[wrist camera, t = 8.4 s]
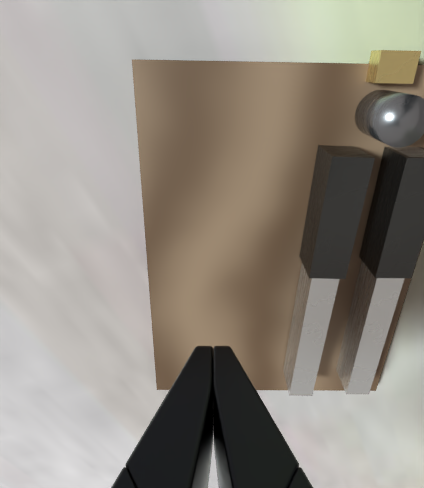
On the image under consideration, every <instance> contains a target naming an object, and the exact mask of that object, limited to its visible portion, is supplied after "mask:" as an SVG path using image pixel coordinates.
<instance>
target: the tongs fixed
mask: <svg viewBox="0 0 424 488" xmlns="http://www.w3.org/2000/svg"><path fill="white" fill-rule="evenodd" d="M420 54H421V51H389V50H379V51H371V56H370V61H369V66H368V72H367V77H366V82H371V83H398V84H413V82H414V78H415V74H416V70H417V66H418V62H419V58H420ZM355 123H356V125H357V127H358V129H359V130H360V131H361V132H362V133H364V134H366V135H368V136H370V137H372V138H374V139H376V140H378V141H380V142H382V143H385V144H387V145H389V146H391V147H384V151H383V155H382V159H381V164H380V168H379V172H378V176H377V181H376V185H375V189H374V194H373V198H372V202H371V207H370V211H369V215H368V220H367V224H366V228H365V233H364V237H363V241H362V246H361V250H360V254H359V257H360V259H361V260H362V261H361V265H360V269H359V274H358V278H357V282H356V286H355V291H354V295H353V299H352V303H351V307H350V312H349V316H348V320H347V324H346V329H345V333H344V337H343V341H342V345H341V350H340V354H339V358H338V362H337V367H336V370H337V373H338V375H339V378H340V380H341V383H342V385H343V387H344V390H345V392H346V394H369V392H370V389H371V386H372V383H373V379H374V376H375V373H376V370H377V366H378V363H379V360H380V357H381V353H382V350H383V347H384V344H385V340H386V337H387V334H388V331H389V327H390V324H391V321H392V318H393V314H394V311H395V308H396V305H397V301H398V298H399V295H400V292H401V288H402V285H403V282H404V279H405V278H411V277H412V274H413V271H414V268H415V265H416V262H417V258H418V255H419V252H420V249H421V246H422V243H423V239H424V148H423V147H406V146H409V145H411V144H413V143H415V142H416V141H417V140H419V139H420V138H421V137H422V136H423V134H424V99H423V98H422V97H420V96H417V95H412V94H407V93H401V92H395V91H389V90H383V89H381V90H375V91H372V92H370V93H369V94H367V95H366V96H365V97H364V98H363V99H362V100H361V101H360V102H359V104H358V106H357V108H356V112H355Z"/></svg>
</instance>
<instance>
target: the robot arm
mask: <svg viewBox="0 0 424 488" xmlns="http://www.w3.org/2000/svg"><path fill="white" fill-rule="evenodd" d="M213 434H214V450H215V459H216V468H217V476H218V485H219V488H313V487H312V485H311V483H310V482H309V480H308V478H307V477H306V475H305V473H304V471H303V470H302V468H300V467H299V463H298V462H297V460H296V458H295V456H294V455H293V453H292V451H291V450H290V448H289V446H288V444H287V443H286V441H285V439H284V437H283V436H282V434H281V432H280V431H279V429H278V427H277V425H276V424H275V422H274V420H273V419H272V417H271V415H270V413H269V412H268V410H267V408H266V407H265V405H264V403H263V401H262V400H261V398H260V396H259V395H258V393H257V391H256V389H255V388H254V386H253V384H252V383H251V381H250V379H249V377H248V376H247V374H246V372H245V371H244V369H243V367H242V365H241V364H240V362H239V360H238V359H237V357H236V355H235V353H234V352H233V350H232V348H231V347H230V346H214V348H213V347H212V346H196V347H195V348H194V350H193V352H192V353H191V355H190V357H189V358H188V360H187V362H186V363H185V365H184V367H183V369H182V370H181V372H180V374H179V375H178V377H177V379H176V380H175V382H174V384H173V385H172V387H171V389H170V390H169V392H168V394H167V395H166V397H165V399H164V400H163V402H162V404H161V406H160V407H159V409H158V411H157V412H156V414H155V416H154V417H153V419H152V421H151V422H150V424H149V426H148V427H147V429H146V431H145V432H144V434H143V436H142V437H141V439H140V441H139V442H138V444H137V446H136V448H135V449H134V451H133V453H132V454H131V456H130V458H129V459H128V461H127V463H126V467H124V468H123V469H122V471H121V472H120V474H119V476H118V477H117V479H116V481H115V483H114V484H113V486H112V487H111V488H208V481H209V473H210V464H211V455H212V445H213Z"/></svg>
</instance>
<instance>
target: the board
mask: <svg viewBox="0 0 424 488" xmlns="http://www.w3.org/2000/svg"><path fill="white" fill-rule="evenodd" d="M132 66H133V80H134V93H135V106H136V119H137V133H138V146H139V159H140V172H141V185H142V199H143V212H144V225H145V238H146V251H147V265H148V278H149V291H150V304H151V317H152V331H153V344H154V357H155V370H156V383H157V390H170V389H171V387H172V385H173V384H174V382H175V380H176V379H177V377H178V375H179V374H180V372H181V370H182V369H183V367H184V365H185V363H186V362H187V360H188V358H189V357H190V355H191V353H192V352H193V350H194V348H195V347H196V346H212V347H213V348H214V346H230V347H231V348H232V350H233V352H234V353H235V355H236V357H237V359H238V360H239V362H240V364H241V365H242V367H243V369H244V371H245V372H246V374H247V376H248V377H249V379H250V381H251V383H252V384H253V386H254V388H255V389H256V390H288V388H287V384H286V380H285V376H284V371H283V368H284V362H285V356H286V351H287V345H288V339H289V333H290V328H291V322H292V316H293V310H294V305H295V299H296V293H297V287H298V282H299V276H300V270H301V264H302V261H301V259H300V257H299V255H300V249H301V243H302V237H303V231H304V225H305V219H306V213H307V207H308V202H309V196H310V190H311V184H312V178H313V172H314V166H315V160H316V154H317V148H318V145H327V146H355V147H357V148H359V149H361V150H362V151H364V152H366V153H368V154H369V155H371V156H373V157H374V158H375V160H374V164H373V168H372V172H371V176H370V180H369V184H368V189H367V193H366V197H365V201H364V205H363V209H362V213H361V217H360V221H359V225H358V230H357V234H356V238H355V242H354V246H353V250H352V254H351V258H350V262H349V267H348V271H347V275H346V279H339V284H338V288H337V292H336V296H335V301H334V305H333V309H332V314H331V318H330V322H329V326H328V331H327V335H326V339H325V343H324V348H323V352H322V356H321V360H320V365H319V369H318V373H317V377H316V382H315V386H314V390H344V387H343V385H342V383H341V380H340V378H339V375H338V373H337V370H336V367H337V362H338V358H339V354H340V350H341V345H342V341H343V337H344V333H345V329H346V324H347V320H348V316H349V312H350V307H351V303H352V299H353V295H354V291H355V286H356V282H357V278H358V274H359V269H360V265H361V261H362V260H361V259H360V257H359V254H360V250H361V246H362V241H363V237H364V233H365V228H366V224H367V220H368V215H369V211H370V207H371V202H372V198H373V194H374V189H375V185H376V181H377V176H378V172H379V168H380V164H381V159H382V155H383V151H384V147H391V146H389V145H387V144H385V143H382V142H380V141H378V140H376V139H374V138H372V137H370V136H368V135H366V134H364V133H362V132H361V131H360V130H359V129H358V127H357V125H356V123H355V112H356V108H357V106H358V104H359V102H360V101H361V100H362V99H363V98H364V97H365V96H366V95H367V94H369V93H370V92H372V91H375V90H381V89H383V90H389V91H395V92H401V93H407V94H412V95H417V96H420V97H422V98H423V99H424V65H418V66H417V70H416V74H415V78H414V82H413V84H398V83H371V82H366V77H367V72H368V66H369V64H347V63H292V62H237V61H182V60H132ZM406 147H423V148H424V134H423V136H422V137H421V138H420V139H419V140H417V141H416V142H415V143H413V144H411V145H409V146H406ZM423 240H424V239H423ZM421 247H422V246H421ZM420 250H421V249H420ZM419 253H420V252H419ZM418 256H419V255H418ZM417 259H418V258H417ZM414 269H415V268H414ZM413 272H414V271H413ZM412 275H413V274H412ZM411 278H412V277H411ZM411 278H405V279H404V282H403V285H402V288H401V292H400V295H399V298H398V301H397V305H396V308H395V311H394V314H393V318H392V321H391V324H390V327H389V331H388V334H387V337H386V340H385V344H384V347H383V350H382V353H381V357H380V360H379V363H378V366H377V370H376V373H375V376H374V379H373V383H372V386H371V389H370V391H376V388H377V385H378V382H379V379H380V376H381V372H382V369H383V366H384V363H385V360H386V357H387V354H388V350H389V347H390V344H391V341H392V338H393V335H394V332H395V328H396V325H397V322H398V319H399V316H400V313H401V309H402V306H403V303H404V300H405V297H406V294H407V291H408V287H409V284H410V281H411Z"/></svg>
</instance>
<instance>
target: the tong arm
mask: <svg viewBox="0 0 424 488" xmlns="http://www.w3.org/2000/svg"><path fill="white" fill-rule="evenodd" d="M374 160H375V158H374V157H373V156H371V155H369V154H368V153H366V152H364V151H362V150H361V149H359V148H357V147H355V146H327V145H318V148H317V154H316V160H315V166H314V172H313V178H312V184H311V190H310V196H309V202H308V207H307V213H306V219H305V225H304V231H303V237H302V243H301V249H300V255H299V257H300V259H301V261H302V264H301V270H300V276H299V282H298V287H297V293H296V299H295V305H294V310H293V316H292V322H291V328H290V333H289V339H288V345H287V351H286V356H285V362H284V368H283V371H284V376H285V380H286V384H287V388H288V392H289V395H301V396H312V394H313V390H314V386H315V382H316V377H317V373H318V369H319V365H320V360H321V356H322V352H323V348H324V343H325V339H326V335H327V331H328V326H329V322H330V318H331V314H332V309H333V305H334V301H335V296H336V292H337V288H338V284H339V279H346V275H347V271H348V267H349V262H350V258H351V254H352V250H353V246H354V242H355V238H356V234H357V230H358V225H359V221H360V217H361V213H362V209H363V205H364V201H365V197H366V193H367V189H368V184H369V180H370V176H371V172H372V168H373V164H374Z"/></svg>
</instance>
